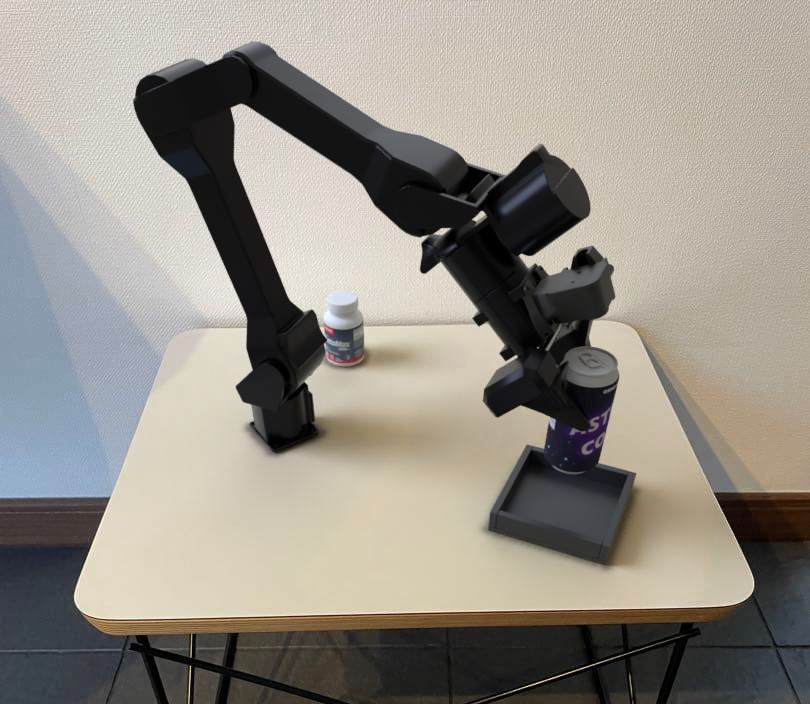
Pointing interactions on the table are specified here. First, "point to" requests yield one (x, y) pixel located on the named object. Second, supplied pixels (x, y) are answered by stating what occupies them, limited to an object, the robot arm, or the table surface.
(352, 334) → the pill bottle
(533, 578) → the table surface
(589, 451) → the beverage can
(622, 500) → the square tray
